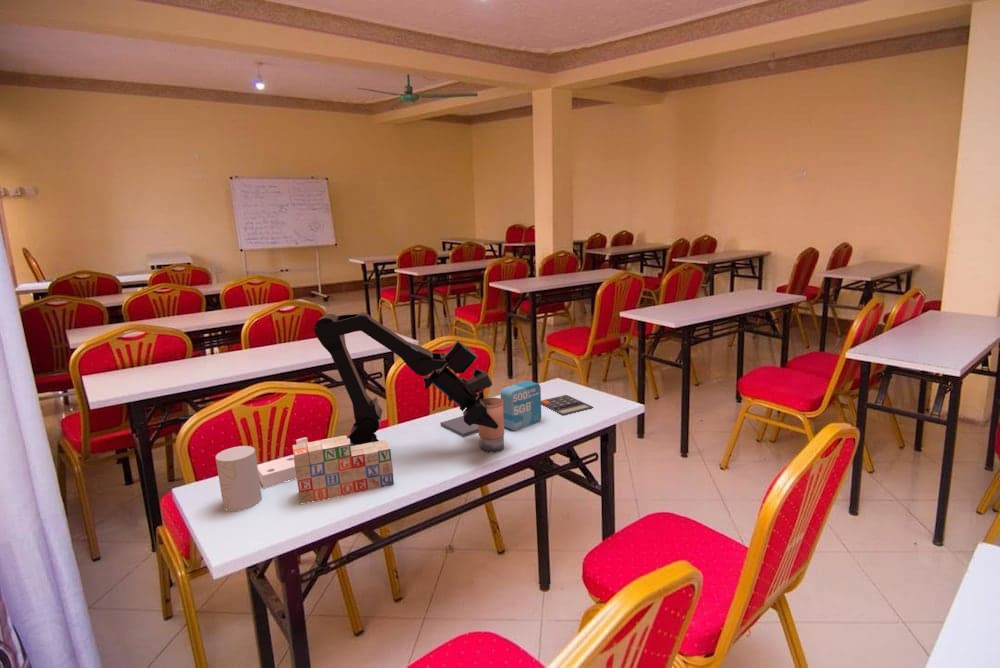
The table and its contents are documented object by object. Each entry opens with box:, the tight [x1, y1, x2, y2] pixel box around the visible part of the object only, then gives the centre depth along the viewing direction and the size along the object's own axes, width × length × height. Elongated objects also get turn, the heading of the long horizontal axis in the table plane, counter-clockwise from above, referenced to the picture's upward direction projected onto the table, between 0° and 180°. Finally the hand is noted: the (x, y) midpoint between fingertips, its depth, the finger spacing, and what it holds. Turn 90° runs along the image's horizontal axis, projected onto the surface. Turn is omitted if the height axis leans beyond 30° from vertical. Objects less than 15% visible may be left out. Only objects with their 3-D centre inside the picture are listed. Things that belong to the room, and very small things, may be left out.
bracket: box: [257, 436, 309, 489], centre depth 147 cm, size 13×7×8 cm, turn 125°
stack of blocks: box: [292, 435, 395, 504], centre depth 138 cm, size 21×6×12 cm, turn 111°
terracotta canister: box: [478, 397, 505, 439], centre depth 157 cm, size 7×7×9 cm
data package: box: [500, 380, 542, 432], centre depth 173 cm, size 12×4×12 cm, turn 131°
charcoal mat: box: [440, 415, 479, 438], centre depth 175 cm, size 12×12×1 cm
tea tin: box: [479, 434, 505, 454], centre depth 158 cm, size 6×6×4 cm
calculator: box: [541, 394, 594, 417], centre depth 189 cm, size 12×1×15 cm
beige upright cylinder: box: [215, 445, 263, 512], centre depth 134 cm, size 8×8×12 cm
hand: (496, 422), depth 157 cm, fingers closed on terracotta canister, 7 cm apart
